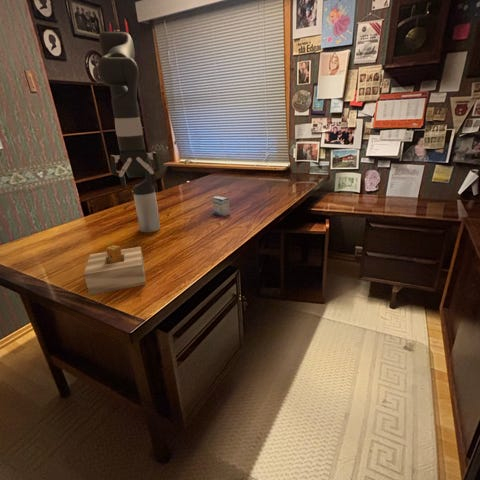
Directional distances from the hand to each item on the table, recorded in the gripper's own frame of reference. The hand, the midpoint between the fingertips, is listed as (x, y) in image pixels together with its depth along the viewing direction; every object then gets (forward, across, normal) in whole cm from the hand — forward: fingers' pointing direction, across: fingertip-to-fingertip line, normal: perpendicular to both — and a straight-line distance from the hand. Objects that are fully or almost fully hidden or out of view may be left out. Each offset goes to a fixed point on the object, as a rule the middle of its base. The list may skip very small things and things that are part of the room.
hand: (139, 186), depth 97 cm
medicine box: (+28, -36, -41) cm, 62 cm away
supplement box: (+26, +10, +10) cm, 30 cm away
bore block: (+27, +11, +11) cm, 31 cm away
